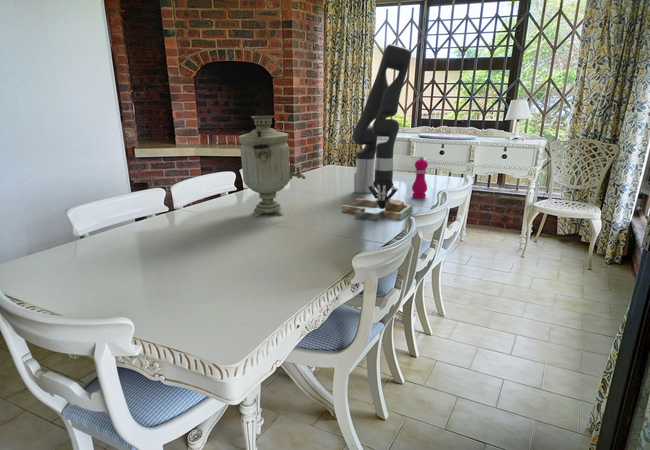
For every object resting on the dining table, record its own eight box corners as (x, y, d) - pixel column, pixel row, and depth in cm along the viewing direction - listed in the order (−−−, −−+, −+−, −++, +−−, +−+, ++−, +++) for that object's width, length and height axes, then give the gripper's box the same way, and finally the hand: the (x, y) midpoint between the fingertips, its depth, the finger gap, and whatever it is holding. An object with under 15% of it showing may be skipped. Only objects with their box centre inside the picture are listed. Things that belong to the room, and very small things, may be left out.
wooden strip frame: (335, 214, 177) (335, 209, 177) (361, 200, 200) (361, 195, 199) (396, 223, 165) (396, 217, 165) (416, 207, 188) (416, 202, 187)
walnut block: (384, 214, 178) (385, 202, 176) (390, 211, 183) (390, 199, 181) (398, 216, 175) (398, 204, 174) (403, 213, 180) (403, 201, 178)
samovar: (294, 225, 163) (292, 119, 151) (230, 221, 168) (223, 118, 156) (312, 205, 191) (311, 114, 179) (257, 202, 196) (252, 113, 184)
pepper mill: (409, 197, 205) (412, 156, 199) (413, 194, 211) (416, 154, 205) (424, 199, 202) (427, 157, 196) (428, 196, 208) (431, 155, 202)
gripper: (365, 168, 176) (364, 208, 181) (396, 171, 170) (393, 212, 175) (372, 165, 182) (371, 204, 187) (402, 168, 176) (399, 208, 181)
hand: (382, 208), depth 181 cm, fingers closed
